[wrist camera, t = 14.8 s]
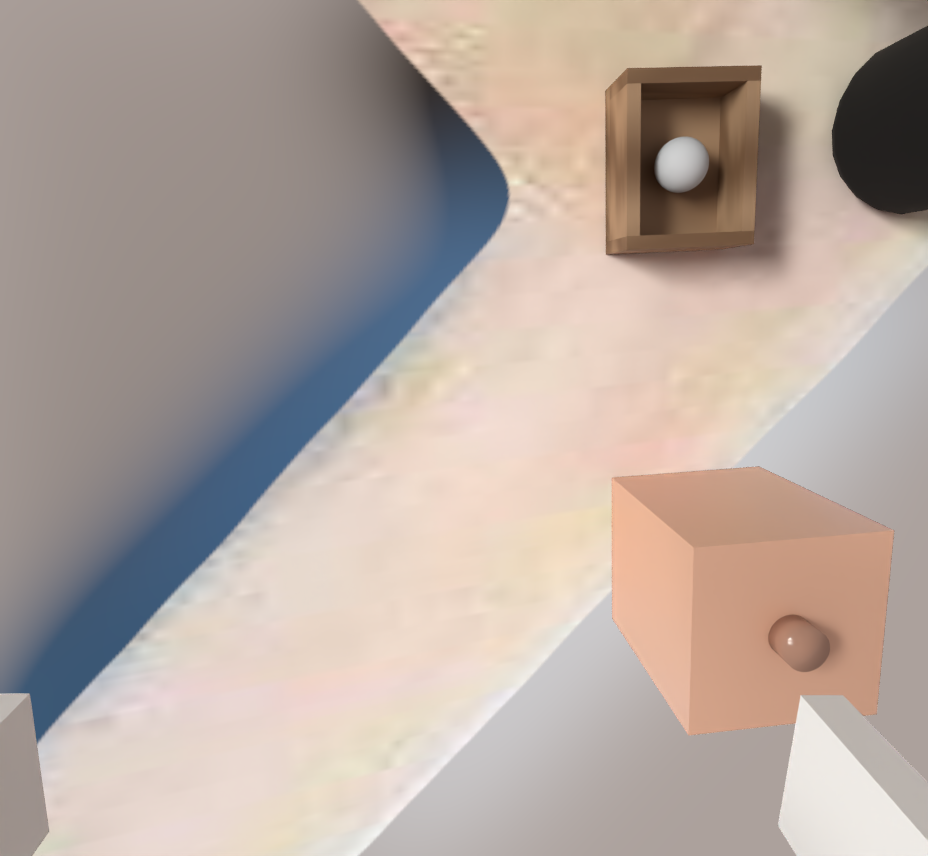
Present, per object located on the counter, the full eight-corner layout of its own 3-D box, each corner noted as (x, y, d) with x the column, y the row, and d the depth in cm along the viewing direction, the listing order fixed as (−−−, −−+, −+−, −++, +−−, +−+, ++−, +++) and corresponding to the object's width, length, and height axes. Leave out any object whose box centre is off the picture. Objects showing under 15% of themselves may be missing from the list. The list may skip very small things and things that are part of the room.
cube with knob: (611, 477, 45) (708, 560, 31) (758, 466, 46) (918, 541, 32) (612, 618, 47) (702, 755, 33) (752, 605, 48) (898, 733, 34)
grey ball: (646, 144, 40) (667, 131, 37) (695, 142, 40) (719, 129, 37) (646, 197, 41) (666, 189, 38) (694, 195, 41) (718, 187, 38)
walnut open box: (605, 90, 40) (627, 68, 36) (727, 87, 41) (761, 65, 37) (605, 254, 42) (626, 250, 38) (721, 249, 43) (753, 244, 39)
